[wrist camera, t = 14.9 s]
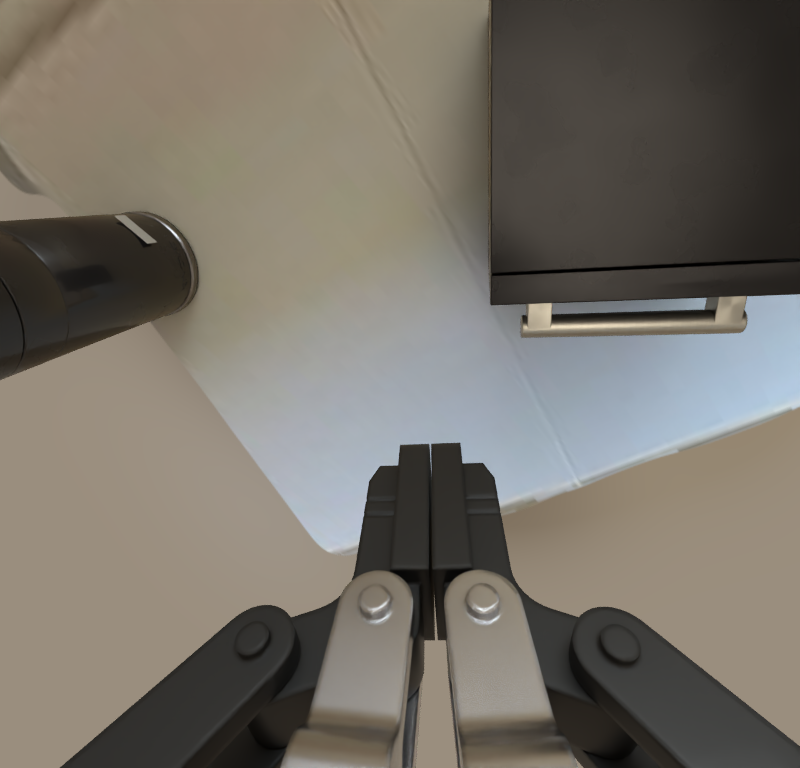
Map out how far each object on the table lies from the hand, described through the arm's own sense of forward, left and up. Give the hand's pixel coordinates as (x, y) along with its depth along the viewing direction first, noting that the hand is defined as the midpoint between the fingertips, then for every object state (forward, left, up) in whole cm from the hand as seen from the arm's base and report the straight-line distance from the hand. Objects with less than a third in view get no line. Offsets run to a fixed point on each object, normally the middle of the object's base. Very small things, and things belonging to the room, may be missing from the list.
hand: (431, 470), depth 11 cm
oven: (+10, +10, -28) cm, 32 cm away
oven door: (+10, 0, -28) cm, 30 cm away
